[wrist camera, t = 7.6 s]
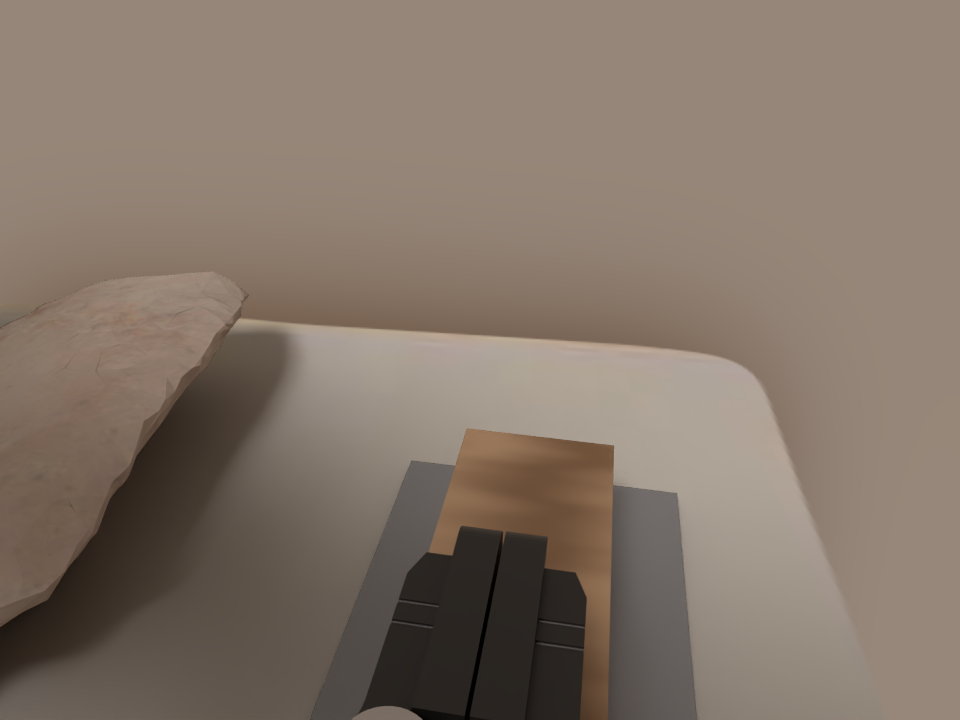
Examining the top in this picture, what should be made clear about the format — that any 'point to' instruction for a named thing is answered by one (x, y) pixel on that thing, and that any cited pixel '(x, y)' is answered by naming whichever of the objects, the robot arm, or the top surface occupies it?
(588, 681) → the block
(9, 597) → the stone
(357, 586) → the top surface
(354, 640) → the mat
